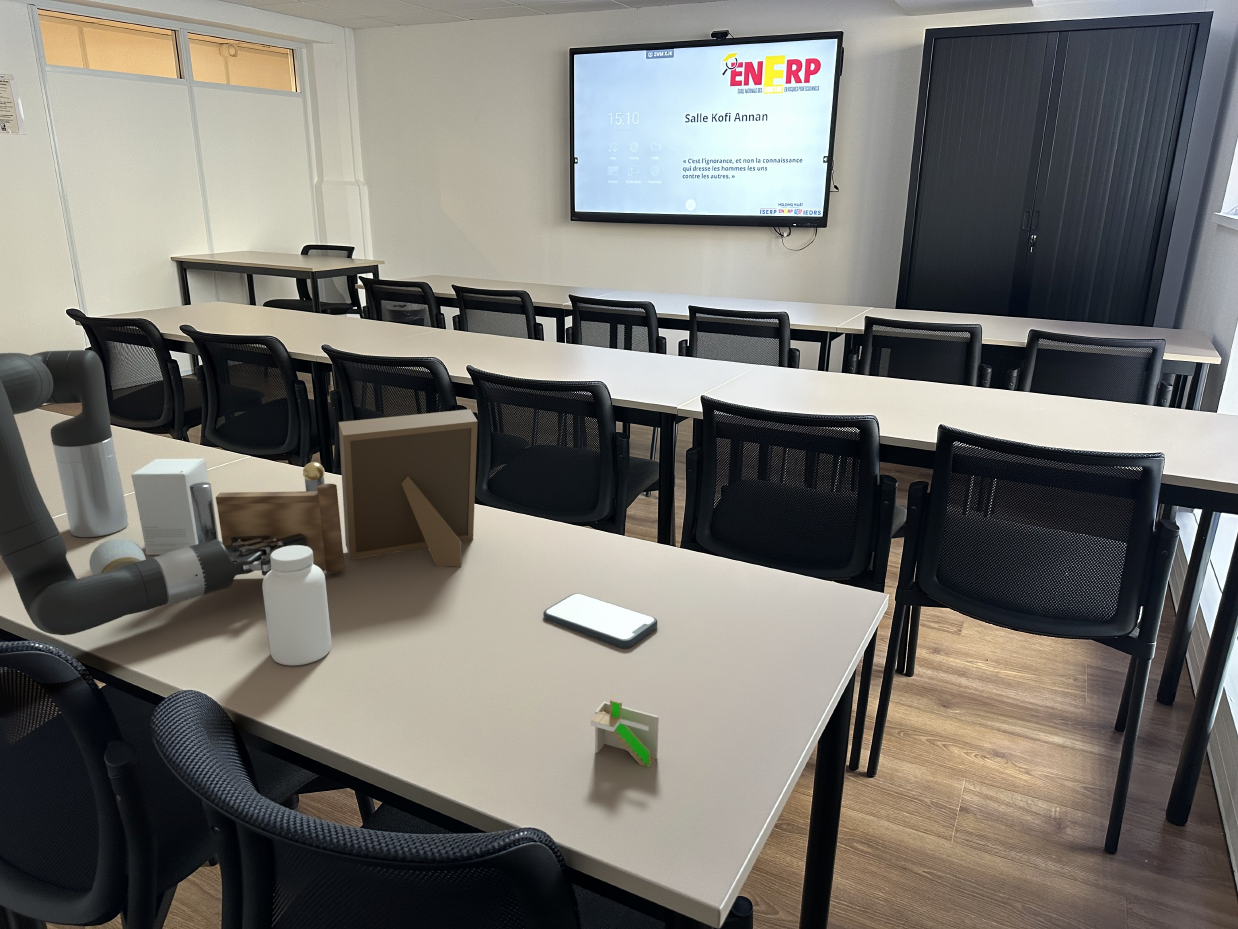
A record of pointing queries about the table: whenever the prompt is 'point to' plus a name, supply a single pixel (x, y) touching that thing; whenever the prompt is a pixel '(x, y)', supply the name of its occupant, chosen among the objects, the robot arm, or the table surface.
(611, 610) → the smartphone
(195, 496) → the hinge post
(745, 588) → the table surface
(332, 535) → the gate
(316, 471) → the post
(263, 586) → the pill bottle
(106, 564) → the ceramic mug
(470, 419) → the photo frame
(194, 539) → the supplement box
